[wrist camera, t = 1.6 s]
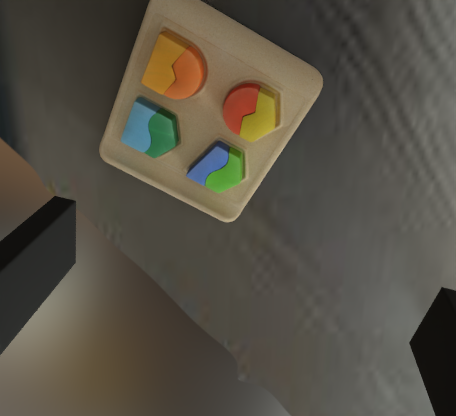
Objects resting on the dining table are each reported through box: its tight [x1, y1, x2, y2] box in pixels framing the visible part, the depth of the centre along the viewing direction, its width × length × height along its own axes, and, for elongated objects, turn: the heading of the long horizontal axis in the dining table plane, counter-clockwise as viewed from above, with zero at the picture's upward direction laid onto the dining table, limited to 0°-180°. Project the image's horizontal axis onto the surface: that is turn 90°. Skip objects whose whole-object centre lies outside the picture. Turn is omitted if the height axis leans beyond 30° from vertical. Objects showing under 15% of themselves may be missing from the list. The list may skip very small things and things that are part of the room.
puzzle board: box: [99, 0, 323, 222], centre depth 40 cm, size 18×19×4 cm
